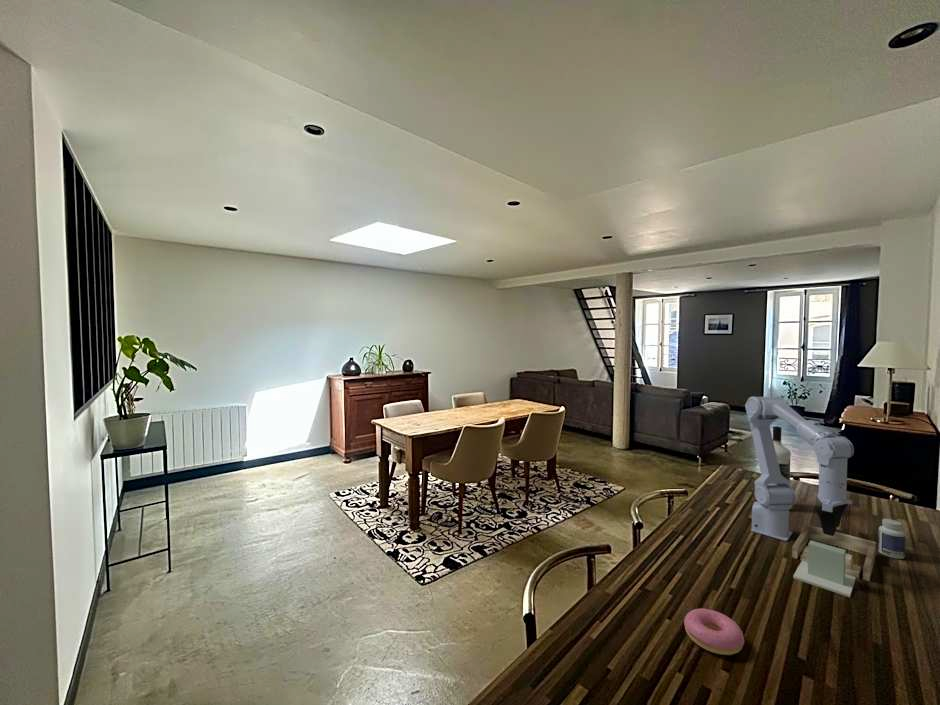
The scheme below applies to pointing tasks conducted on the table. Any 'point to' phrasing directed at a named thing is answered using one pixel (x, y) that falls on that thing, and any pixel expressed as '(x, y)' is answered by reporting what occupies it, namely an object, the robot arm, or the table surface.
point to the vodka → (781, 454)
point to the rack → (840, 541)
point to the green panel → (826, 562)
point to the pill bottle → (892, 539)
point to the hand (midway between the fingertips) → (831, 530)
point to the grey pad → (824, 581)
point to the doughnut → (714, 631)
